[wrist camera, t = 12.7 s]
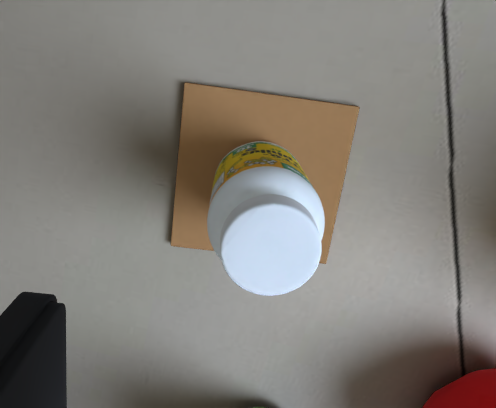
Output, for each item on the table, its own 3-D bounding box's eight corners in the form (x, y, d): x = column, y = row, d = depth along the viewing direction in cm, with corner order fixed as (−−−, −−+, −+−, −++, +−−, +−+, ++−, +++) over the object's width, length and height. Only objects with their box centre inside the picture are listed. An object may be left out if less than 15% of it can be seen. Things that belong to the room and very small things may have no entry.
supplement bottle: (203, 209, 26) (183, 290, 17) (230, 126, 25) (225, 166, 16) (285, 235, 27) (308, 326, 18) (317, 156, 25) (361, 210, 16)
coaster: (171, 243, 27) (170, 245, 27) (185, 82, 24) (184, 82, 24) (324, 261, 28) (326, 264, 28) (357, 106, 25) (360, 106, 24)
